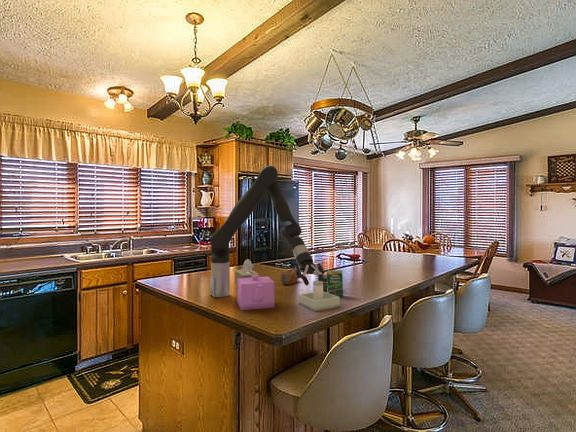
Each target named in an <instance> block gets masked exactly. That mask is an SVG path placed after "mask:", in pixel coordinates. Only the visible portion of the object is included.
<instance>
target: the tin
mask: <svg viewBox="0 0 576 432" xmlns="http://www.w3.org/2000/svg"><path fill="white" fill-rule="evenodd" d="M298 280H299V278H297V275H296V272H295V269H294V268H289V269H284V270H282V271H281V273H280V281H281V284H283V285H291V284H293V283H296V282H297V281H298Z"/></svg>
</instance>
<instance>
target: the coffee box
mask: <svg viewBox="0 0 576 432" xmlns="http://www.w3.org/2000/svg"><path fill="white" fill-rule="evenodd" d="M326 275H327V292H326V293H329V294H332V295H335V296H338V297H340V298H341V297H344V287H343V286H344V285H343V282H344V281H343V277H344V276H343V270H341V269H339V270H326Z"/></svg>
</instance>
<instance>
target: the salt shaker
mask: <svg viewBox="0 0 576 432" xmlns="http://www.w3.org/2000/svg"><path fill="white" fill-rule="evenodd" d="M312 283H313V284H312V285H313V286H312V287H313V288H312V292H313V300H321V299H323V281H318V280H314V281H313V282H312Z"/></svg>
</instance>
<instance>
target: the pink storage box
mask: <svg viewBox="0 0 576 432" xmlns="http://www.w3.org/2000/svg"><path fill="white" fill-rule="evenodd" d="M251 277H252V278H237V285H236V286H237V287H236V292H237V293H236V294H237V295H236V298H237V299H236V303H237V305H238V308H239V309H240V310H241V311H247V310H248V311H250V310H259V309H271V308H273V309H275V300H276V299H275V281H274V280H272V279H271V278H270V277H269V276H260V274H259V275H252V276H251Z"/></svg>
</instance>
